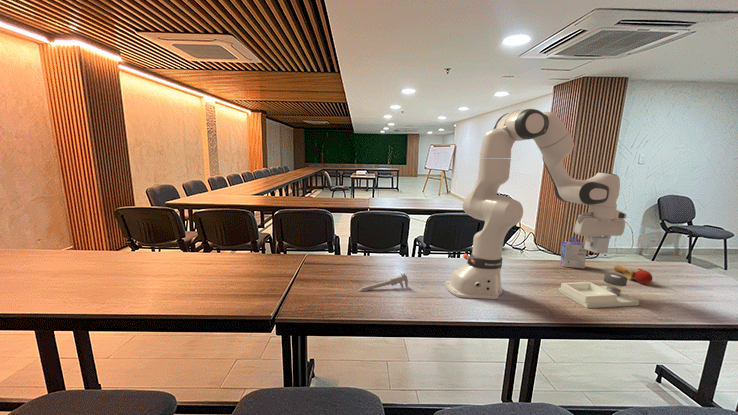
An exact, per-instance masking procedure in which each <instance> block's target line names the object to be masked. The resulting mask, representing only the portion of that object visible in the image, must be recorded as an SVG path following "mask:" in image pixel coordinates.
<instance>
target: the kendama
mask: <svg viewBox="0 0 738 415" xmlns="http://www.w3.org/2000/svg"><path fill="white" fill-rule="evenodd" d="M613 269H614V271H615V272H619V273H623V276H624V277H626V278H627V281H628V280H629V281H633V280H634V279H635V281H636V282H637V283H639V284H642V285H648V284H650V283H651V282H652V281H653V275H652V274H651V272H649V271H648V270H645V269H644V268H637V270H634V271H633V270H632V269H631V268H630V269H629V268H626V267H623V266H620V265H615V266H614V268H613Z"/></svg>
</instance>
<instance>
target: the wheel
mask: <svg viewBox="0 0 738 415" xmlns="http://www.w3.org/2000/svg"><path fill="white" fill-rule="evenodd" d="M603 281H604V282H605V283H607V284H608V285H612V286H617V287H627V283H628V279H627V278H626V277H625V276H624V275H621V274H618V273H612V272H606V273H604V277H603Z"/></svg>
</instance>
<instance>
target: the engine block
mask: <svg viewBox="0 0 738 415" xmlns="http://www.w3.org/2000/svg"><path fill="white" fill-rule="evenodd" d="M591 241H592V242H593V246H587V245H586V242H587V241H586V239H585V242H584V243H585V246H584V249H587V251H590V252H593V253H595V254H608V251H609V244H610V239H609V238H606V237H603V236H592V238H591Z"/></svg>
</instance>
